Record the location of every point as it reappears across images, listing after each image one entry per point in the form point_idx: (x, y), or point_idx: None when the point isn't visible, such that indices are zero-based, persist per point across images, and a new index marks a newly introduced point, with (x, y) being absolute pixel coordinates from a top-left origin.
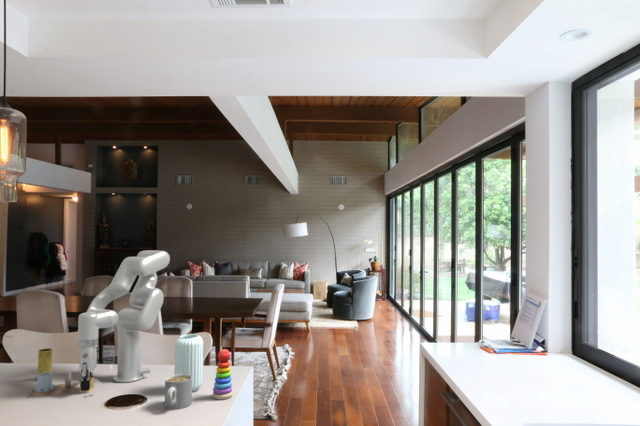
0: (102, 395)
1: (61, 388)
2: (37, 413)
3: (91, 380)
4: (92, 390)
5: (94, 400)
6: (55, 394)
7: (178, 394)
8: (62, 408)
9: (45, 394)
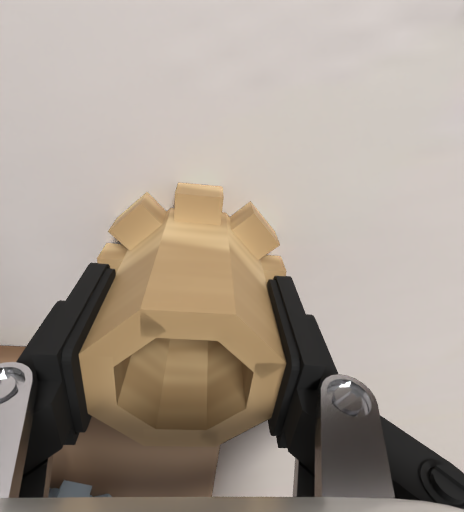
0: (303, 107)
1: (66, 448)
2: (434, 451)
3: (254, 330)
4: (233, 236)
5: (424, 183)
6: (208, 455)
7: None
8: (446, 371)
9: (183, 491)
